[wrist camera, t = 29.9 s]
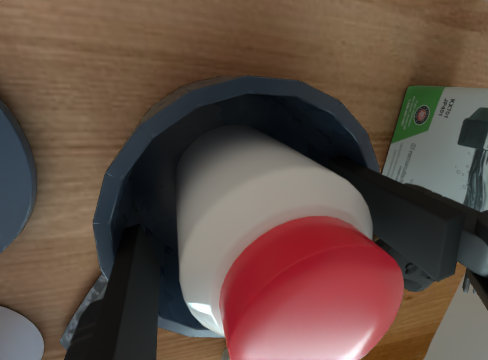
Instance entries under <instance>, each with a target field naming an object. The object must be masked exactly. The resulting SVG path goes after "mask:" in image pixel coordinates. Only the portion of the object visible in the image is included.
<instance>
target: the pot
mask: <svg viewBox="0 0 488 360" xmlns="http://www.w3.org/2000/svg"><path fill="white" fill-rule="evenodd" d="M234 124H236V125H247V126H250V127H253V128H257V129H259V130H261V131H262V132H264V133H266V134H268V135H270V136H271V137H273V138H275V139H277V140H278V141H280V142H282V143H284V144H285V145H287V146H289V147H291V148H292V149H294V150H296V151H298V152H299V153H301V154H303V155H305V156H306V157H308V158H310V159H312V160H313V161H315V162H317V163H319V164H320V165H322V166H324V167H326V168H327V169H328V159H330V158H333V157H336V156H339V155H340V156H343V157H345V158H347V159H349V160H351V161H354V162H356V163H358V164H360V165H363V166H365V167H367V168H369V169H371V170H374V171H376V172H378V173H379V165H378V163H377V160H376V157H375V154H374V151H373V148H372V145H371V142H370V139H369V136H368V134H367V132H366V130H365V129H364V128H363V127H362V126H361V125H360V123H359V122H358V121H357V120H356V119H355V118H354V116H353V115H352V114H351V113H350V112H349V111H348V109H347V108H346V107H345V106H344V105H343V104H342V102H340V101H339V100H337V99H335V98H333V97H331V96H329V95H327V94H325V93H323V92H322V91H320V90H318V89H316V88H314V87H312V86H310V85H308V84H306V83H304V82H302V81H299V80H291V79H280V78H270V77H259V76H218V77H213V78H210V79H206V80H202V81H197V82H194V83H191V84H187V85H183V86H181V87H179V88H178V89H176V90H175V91H173V92H172V93H170V94H169V95H167V96H166V97H164V98H163V99H162V100H160V101H159V102H157V103H156V104H154V105H153V106H152V107H151V108H149V110H148V111H147V113H146V114H145V115H144V117H143V118H142V120H141V121H140V122H139V124H138V125H137V127H136V128H135V129H134V131H133V132H132V134H131V135H130V136H129V138H128V139H127V141H126V142H125V144H124V145H123V147H122V148H121V150H120V151H119V153H118V154H117V156H116V157H115V159H114V160H113V162H112V163H111V165H110V166H109V168H108V169H107V171H106V173H105V175H104V179H103V183H102V187H101V191H100V195H99V199H98V203H97V207H96V211H95V215H94V219H93V230H94V236H95V242H96V248H97V254H98V261H99V267H100V268H101V271H102V273H103V274H104V276H105V277H106V279H107V280H109V277H110V274H111V270H112V267H113V264H114V260H115V257H116V254H117V250H118V247H119V244H120V241H121V237H122V234H123V231H124V228H127V227H130V226H133V225H136V224H139V223H140V224H141V226H142V228H143V230H144V232H145V234H146V236H147V238H148V240H149V242H150V244H151V246H152V248H153V250H154V252H155V254H156V256H157V258H158V260H159V262H160V264H161V266H160V287H159V308H158V327H159V328H162V329H165V330H169V331H172V332H175V333H179V334H182V335H185V336H189V337H215V338H225V337H224V336H221V335H218V334H216V333H214V332H213V331H211V330H209V329H208V328H206V327H205V326H203V325H202V324H201V323H200V322H199V321H198V320H197V319H196V318H195V317H194V316H193V315H192V314H191V312H190V310H189V308H188V306H187V304H186V303H185V301H184V299H183V295H182V291H181V286H180V282H179V268H178V249H177V229H176V210H175V191H174V183H175V173H176V169H177V165H178V163H179V161H180V159H181V157H182V155H183V153H184V152H185V150H186V149H187V148H188V147H189V145H190V144H191V143H192V142H193V141H195V140H196V139H197V138H198V137H199V136H201V135H202V134H204V133H206V132H208V131H209V130H211V129H214V128H218V127H221V126H225V125H234Z"/></svg>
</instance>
